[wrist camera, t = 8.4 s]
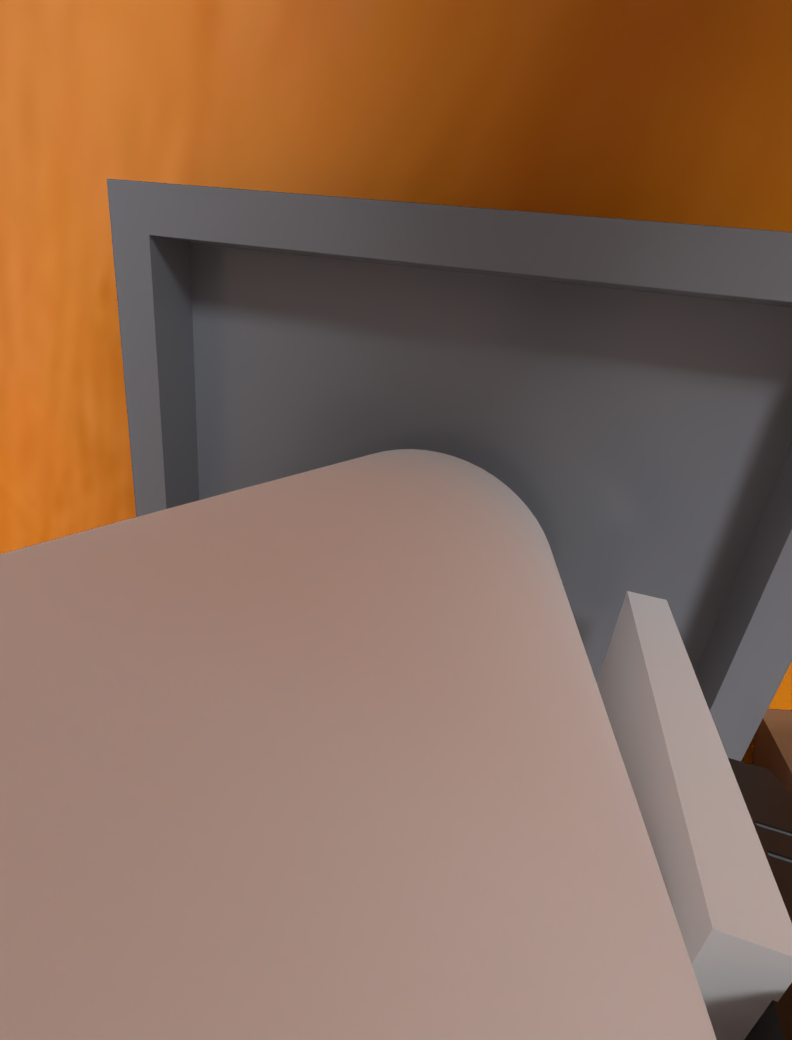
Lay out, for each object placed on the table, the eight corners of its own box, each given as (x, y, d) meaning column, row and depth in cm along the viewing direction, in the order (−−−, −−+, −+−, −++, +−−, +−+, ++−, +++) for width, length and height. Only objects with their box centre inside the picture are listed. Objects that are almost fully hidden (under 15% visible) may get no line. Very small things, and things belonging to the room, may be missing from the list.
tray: (169, 198, 13) (106, 178, 11) (916, 262, 9) (999, 248, 8) (193, 697, 19) (156, 735, 17) (651, 847, 16) (663, 915, 14)
